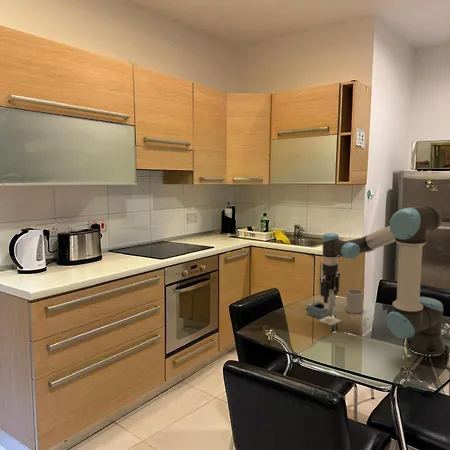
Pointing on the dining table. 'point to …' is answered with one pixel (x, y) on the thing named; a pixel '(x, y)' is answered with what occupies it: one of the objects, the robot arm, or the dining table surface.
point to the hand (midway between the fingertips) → (329, 307)
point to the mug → (354, 301)
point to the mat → (329, 320)
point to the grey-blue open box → (316, 310)
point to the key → (331, 301)
